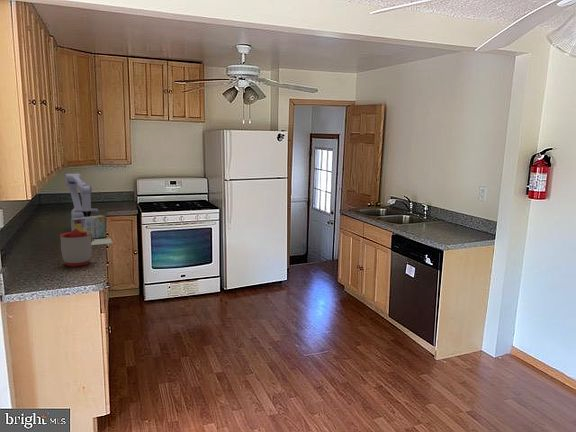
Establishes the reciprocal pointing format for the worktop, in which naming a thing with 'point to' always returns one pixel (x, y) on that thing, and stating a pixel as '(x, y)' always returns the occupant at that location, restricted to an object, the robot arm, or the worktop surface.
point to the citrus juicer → (76, 248)
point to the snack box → (90, 225)
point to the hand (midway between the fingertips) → (87, 222)
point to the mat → (101, 241)
